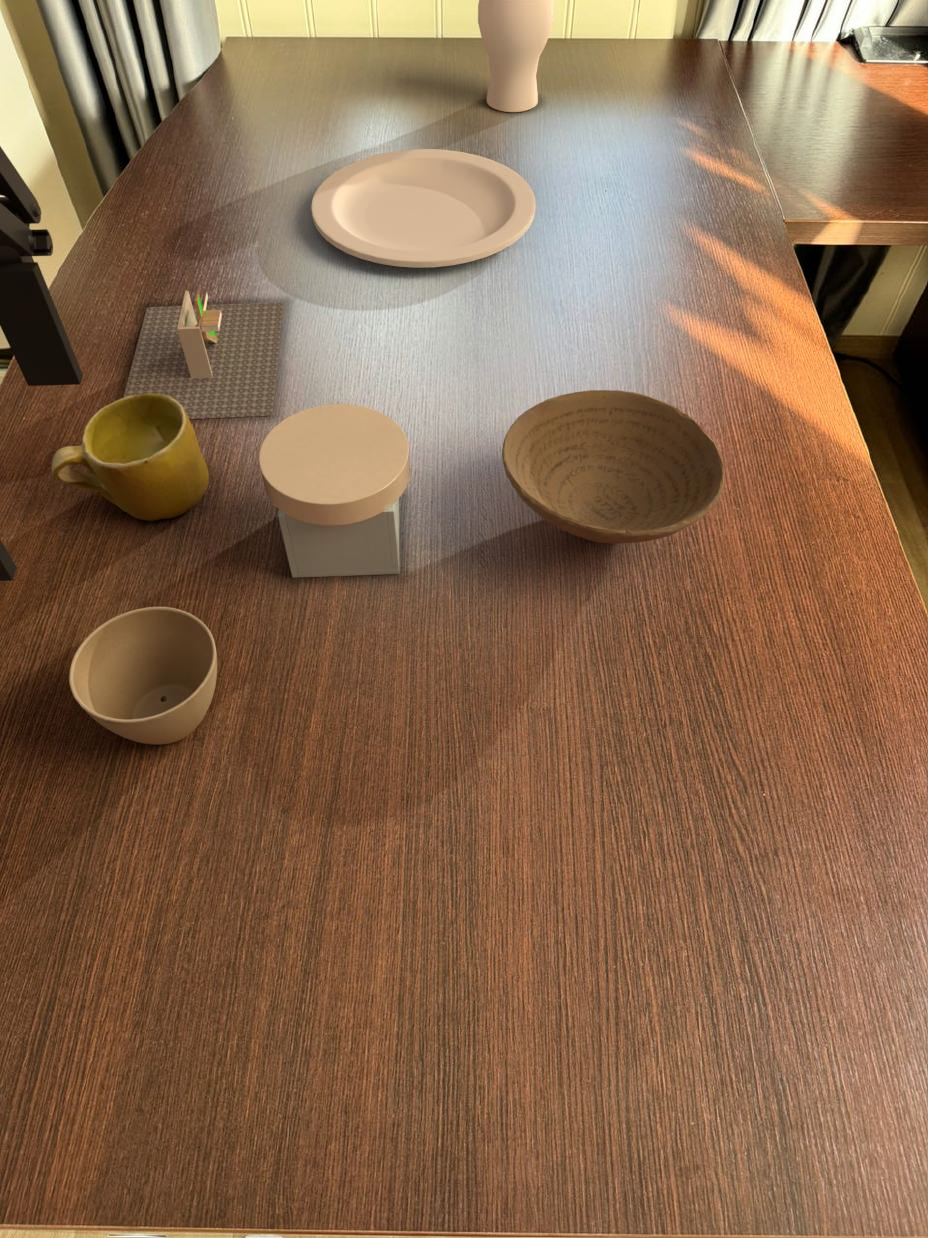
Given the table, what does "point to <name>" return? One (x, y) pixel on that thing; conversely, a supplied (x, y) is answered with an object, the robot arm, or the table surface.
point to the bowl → (613, 466)
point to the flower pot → (147, 674)
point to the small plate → (335, 464)
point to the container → (343, 546)
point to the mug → (139, 458)
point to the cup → (514, 49)
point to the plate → (423, 208)
